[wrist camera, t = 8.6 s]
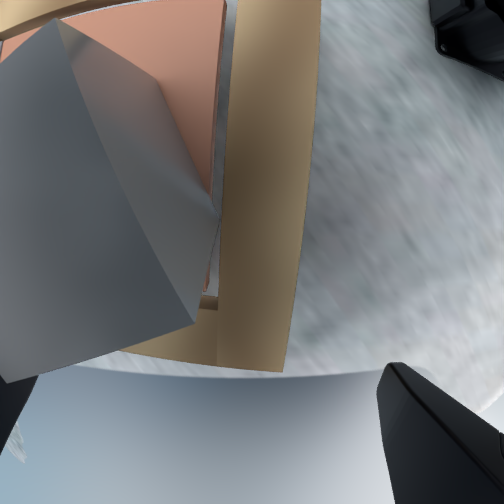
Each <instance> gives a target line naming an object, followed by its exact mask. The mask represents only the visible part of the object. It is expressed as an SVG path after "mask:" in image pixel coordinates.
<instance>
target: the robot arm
mask: <svg viewBox="0 0 504 504" xmlns="http://www.w3.org/2000/svg"><path fill="white" fill-rule="evenodd" d="M430 7H431V19H432V23H433V25H434V26H435V47H436V50H437V52H438V53H439V54H440V55H442V56H445V57H448V58H450V59H453V60H456V61H458V62H461V63H463V64H466V65H468V66H471V67H473V68H475V69H478V70H480V71H482V72H484V73H487V74H489V75H491V76H493V77H495V78H497V79H499V80H501V81H504V77H503V75H502V72H503V73H504V0H430ZM441 45H442V46H443V47H444V48H445V51H443V50H442V49H441ZM38 376H39V375H36V376H32V377H29V378H25V379H22V380H18V381H14V382H11V383H6V382H5V380H4V379H3V378H2V377H1V375H0V455H1V452H2V450H3V448H4V446H5V444H6V442H7V440H8V437H9V435H10V433H11V431H12V429H13V427H14V425H15V423H16V421H17V419H18V417H19V415H20V413H21V411H22V410H23V407H24V406H25V404H26V402H27V400H28V398H29V396H30V394H31V392H32V390H33V387H34V385H35V383H36V380H37V378H38ZM377 402H378V410H379V417H380V426H381V435H382V442H383V447H384V453H385V457H386V462H387V466H388V470H389V475H390V480H391V485H392V490H393V495H394V500H395V504H504V434H503V433H501V432H500V433H499V430H497V429H496V428H494V427H493V426H492V425H490V424H489V423H487V422H486V421H485V420H483V419H481V418H480V417H479V416H477V415H476V414H475V413H473V412H472V411H471V410H469V409H468V408H466V407H465V406H463V405H462V404H461V403H459V402H458V401H456V400H455V399H454V398H452V397H451V396H449V395H448V394H447V393H445V392H444V391H442V390H441V389H440V388H438V387H437V386H435V385H434V384H433V383H431V382H430V381H428V380H427V379H426V378H424V377H423V376H421V375H420V374H419V373H417V372H416V371H414V370H413V369H412V368H410V367H409V366H407V365H406V364H405V363H402V362H390V363H388V364H387V365H386V367H385V369H384V371H383V374H382V376H381V379H380V381H379V384H378V387H377Z"/></svg>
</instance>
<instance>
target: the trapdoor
mask: <svg viewBox="0 0 504 504" xmlns="http://www.w3.org/2000/svg"><path fill="white" fill-rule="evenodd" d="M226 10H227V4H226V1H225V0H159V1H151V2H143V3H136V4H130V5H124V6H119V7H113V8H108V9H104V10H99V11H95V12H90V13H86V14H82V15H78V16H75V17H71V18H67V19H64V20H61V21H63V22H64V23H66V24H68V25H70V26H72V27H73V28H75V29H77V30H79V31H80V32H82V33H84V34H85V35H87V36H89V37H91V38H92V39H94V40H96V41H97V42H99V43H101V44H102V45H104V46H106V47H107V48H109V49H111V50H112V51H114V52H115V53H117V54H119V55H120V56H122V57H123V58H125V59H127V60H128V61H130V62H131V63H133V64H134V65H136V66H137V67H139V68H141V69H142V70H144V71H145V72H147V73H148V74H150V75H151V76H153V77H154V78H156V80H157V82H158V85H159V87H160V89H161V91H162V94H163V96H164V98H165V100H166V103H167V105H168V107H169V109H170V111H171V114H172V116H173V118H174V120H175V123H176V125H177V127H178V129H179V131H180V134H181V136H182V138H183V140H184V142H185V145H186V147H187V149H188V151H189V153H190V156H191V158H192V160H193V162H194V164H195V167H196V169H197V171H198V173H199V175H200V177H201V180H202V182H203V184H204V186H205V188H206V191H207V193H208V195H209V197H210V199H211V201H212V187H213V168H214V151H215V135H216V120H217V107H218V94H219V82H220V70H221V59H222V48H223V38H224V28H225V19H226ZM42 27H43V26H42ZM42 27H39V28H36V29H33V30H30V31H28V32H25V33H22V34H20V35H17V36H15V37H12V38H10V39H7V40H5V41H0V63H1V62H2V61H3V60H4V59H5V58H7V57H8V56H9V55H10V54H11V53H12V52H13V51H14V50H15V49H16V48H18V47H19V46H20V45H21V44H22V43H23V42H24V41H26V40H27V39H28V38H29V37H30V36H32V35H33V34H34V33H35V32H37V31H38V30H39V29H40V28H42ZM209 270H210V262H209V266H208V270H207V274H206V278H205V282H204V286H203V292H206V289H207V287H208V284H209Z"/></svg>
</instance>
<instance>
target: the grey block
mask: <svg viewBox="0 0 504 504" xmlns="http://www.w3.org/2000/svg"><path fill="white" fill-rule="evenodd" d="M219 222H220V219H219V216H218V214H217V212H216V210H215V208H214V206H213V203H212V201H211V199H210V197H209V195H208V193H207V191H206V188H205V186H204V184H203V182H202V180H201V177H200V175H199V173H198V171H197V169H196V167H195V164H194V162H193V160H192V158H191V156H190V153H189V151H188V149H187V147H186V145H185V142H184V140H183V138H182V136H181V134H180V131H179V129H178V127H177V125H176V123H175V120H174V118H173V116H172V114H171V111H170V109H169V107H168V105H167V103H166V100H165V98H164V96H163V94H162V91H161V89H160V87H159V85H158V82H157V80H156V78H154V77H153V76H151V75H150V74H148V73H147V72H145V71H144V70H142V69H141V68H139V67H137V66H136V65H134V64H133V63H131V62H130V61H128V60H127V59H125V58H123V57H122V56H120V55H119V54H117V53H115V52H114V51H112V50H111V49H109V48H107V47H106V46H104V45H102V44H101V43H99V42H97V41H96V40H94V39H92V38H91V37H89V36H87V35H85V34H84V33H82V32H80V31H79V30H77V29H75V28H73V27H72V26H70V25H68V24H66V23H64V22H63V21H61V20H59V19H57V18H53V19H52V20H51V21H49V22H48V23H47V24H45V25H44V26H43V27H42V28H40V29H39V30H38V31H37V32H35V33H34V34H33V35H32V36H30V37H29V38H28V39H27V40H26V41H24V42H23V43H22V44H21V45H20V46H19V47H18V48H16V49H15V50H14V51H13V52H12V53H11V54H10V55H9V56H8V57H7V58H5V59H4V60H3V61H2V62H1V63H0V375H1V377H2V378H3V379H4V380H5V382H6V383H11V382H14V381H18V380H22V379H25V378H29V377H32V376H36V375H39V374H43V373H46V372H50V371H53V370H56V369H59V368H63V367H66V366H70V365H73V364H76V363H80V362H83V361H86V360H89V359H92V358H96V357H99V356H102V355H105V354H108V353H111V352H114V351H117V350H120V349H123V348H127V347H130V346H133V345H136V344H139V343H142V342H144V341H147V340H150V339H153V338H156V337H159V336H162V335H165V334H168V333H171V332H173V331H176V330H179V329H182V328H185V327H188V326H190V325H193V324H195V321H196V317H197V312H198V308H199V303H200V299H201V295H202V291H203V286H204V282H205V278H206V274H207V270H208V266H209V262H210V257H211V253H212V249H213V245H214V241H215V237H216V233H217V230H218V226H219Z"/></svg>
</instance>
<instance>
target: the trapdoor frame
mask: <svg viewBox="0 0 504 504" xmlns="http://www.w3.org/2000/svg"><path fill="white" fill-rule="evenodd" d="M133 1H139V0H0V41H5V40H7V39H10V38H12V37H15V36H17V35H20V34H22V33H25V32H28V31H30V30H33V29H36V28H39V27H42V26H44V25H45V24H47V23H48V22H49V21H51V20H52V19H53V18H57V19H62V18H65V17H69V16H72V15H75V14H79V13H83V12H86V11H90V10H94V9H99V8H103V7H107V6H112V5H117V4H122V3H127V2H133ZM320 19H321V0H238V5H237V14H236V24H235V35H234V45H233V56H232V67H231V79H230V91H229V104H228V118H227V132H226V147H225V162H224V179H223V197H222V217H221V238H220V263H219V291H218V297H215V296H206V295H201V299H200V303H199V308H198V312H197V317H196V321H195V324H193V325H190V326H188V327H185V328H182V329H179V330H176V331H173V332H171V333H168V334H165V335H162V336H159V337H156V338H153V339H150V340H147V341H144V342H142V343H139V344H136V345H133V346H130V347H127V348H123V349H120V350H119V351H124V352H129V353H134V354H139V355H145V356H150V357H156V358H162V359H168V360H174V361H181V362H187V363H194V364H202V365H210V366H218V367H226V368H236V369H246V370H257V371H269V372H283V367H284V361H285V355H286V349H287V343H288V337H289V330H290V324H291V317H292V311H293V304H294V297H295V290H296V283H297V276H298V268H299V261H300V253H301V245H302V237H303V229H304V221H305V212H306V203H307V194H308V185H309V175H310V165H311V155H312V144H313V132H314V120H315V108H316V94H317V79H318V62H319V43H320Z"/></svg>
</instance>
